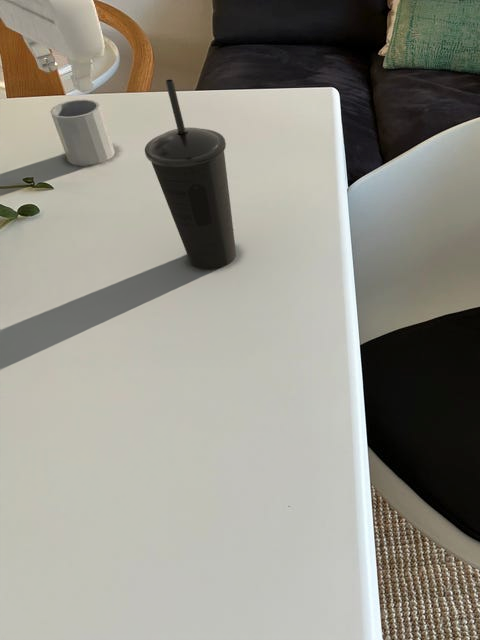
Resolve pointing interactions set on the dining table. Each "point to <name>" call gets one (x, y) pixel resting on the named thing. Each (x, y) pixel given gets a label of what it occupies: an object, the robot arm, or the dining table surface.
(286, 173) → the dining table surface
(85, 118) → the grey faceted cup
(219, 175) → the drinking cup
